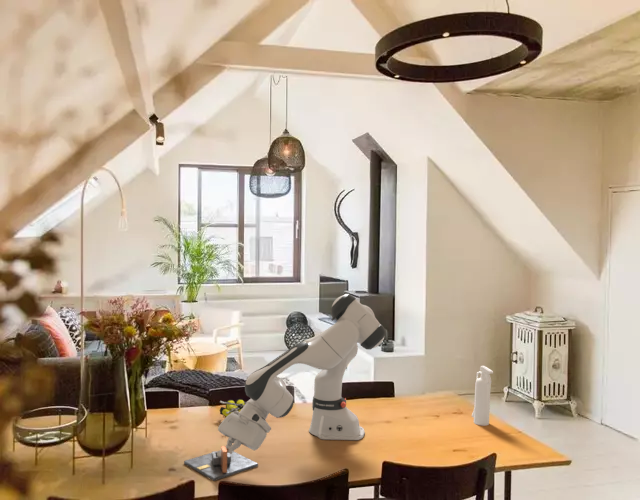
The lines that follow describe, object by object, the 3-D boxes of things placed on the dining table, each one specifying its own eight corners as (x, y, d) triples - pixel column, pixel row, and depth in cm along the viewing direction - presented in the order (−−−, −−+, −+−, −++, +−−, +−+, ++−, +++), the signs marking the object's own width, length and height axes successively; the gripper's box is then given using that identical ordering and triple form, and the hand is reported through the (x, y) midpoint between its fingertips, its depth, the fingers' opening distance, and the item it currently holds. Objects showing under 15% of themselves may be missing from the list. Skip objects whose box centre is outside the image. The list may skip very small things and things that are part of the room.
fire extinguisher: (479, 416, 263) (481, 362, 261) (495, 426, 252) (497, 369, 250) (466, 418, 261) (468, 362, 259) (481, 428, 250) (483, 370, 248)
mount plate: (257, 466, 202) (258, 453, 202) (213, 481, 190) (214, 467, 190) (227, 450, 215) (227, 438, 215) (184, 463, 203) (184, 450, 202)
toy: (216, 416, 258) (227, 437, 229) (216, 395, 257) (227, 413, 229) (252, 413, 262) (267, 434, 234) (253, 393, 262) (268, 411, 234)
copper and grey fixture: (233, 471, 194) (234, 450, 194) (215, 473, 192) (216, 452, 192) (228, 457, 206) (228, 437, 206) (211, 458, 204) (212, 438, 204)
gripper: (229, 404, 210) (204, 437, 204) (264, 420, 195) (239, 456, 189) (239, 414, 213) (215, 447, 207) (274, 430, 198) (250, 466, 192)
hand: (227, 452), depth 198 cm, fingers closed, pressing on copper and grey fixture
